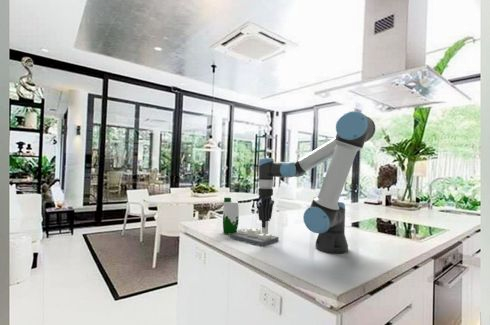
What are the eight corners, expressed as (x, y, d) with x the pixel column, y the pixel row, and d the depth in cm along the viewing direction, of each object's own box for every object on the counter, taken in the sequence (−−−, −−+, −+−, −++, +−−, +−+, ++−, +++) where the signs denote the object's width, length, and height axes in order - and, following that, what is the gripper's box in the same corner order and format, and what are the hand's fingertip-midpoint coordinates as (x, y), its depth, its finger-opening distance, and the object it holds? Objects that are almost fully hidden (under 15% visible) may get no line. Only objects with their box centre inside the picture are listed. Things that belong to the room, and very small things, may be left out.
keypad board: (278, 240, 144) (278, 237, 144) (262, 246, 133) (262, 242, 133) (246, 233, 158) (246, 229, 158) (229, 237, 148) (229, 234, 148)
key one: (271, 241, 142) (271, 234, 142) (265, 243, 138) (265, 236, 138) (263, 239, 145) (263, 232, 145) (257, 241, 141) (257, 234, 141)
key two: (260, 236, 146) (260, 229, 146) (254, 237, 142) (254, 230, 142) (253, 234, 149) (253, 227, 149) (247, 236, 146) (247, 229, 146)
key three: (250, 236, 151) (250, 229, 151) (244, 238, 147) (244, 231, 147) (243, 234, 154) (243, 228, 154) (237, 236, 150) (237, 229, 150)
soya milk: (223, 230, 164) (224, 197, 164) (238, 230, 164) (239, 197, 164) (221, 234, 155) (222, 198, 155) (237, 234, 155) (238, 199, 155)
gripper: (267, 186, 149) (266, 230, 149) (252, 187, 139) (251, 234, 139) (278, 187, 144) (278, 232, 144) (264, 188, 134) (263, 237, 134)
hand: (264, 233), depth 141 cm, fingers closed
